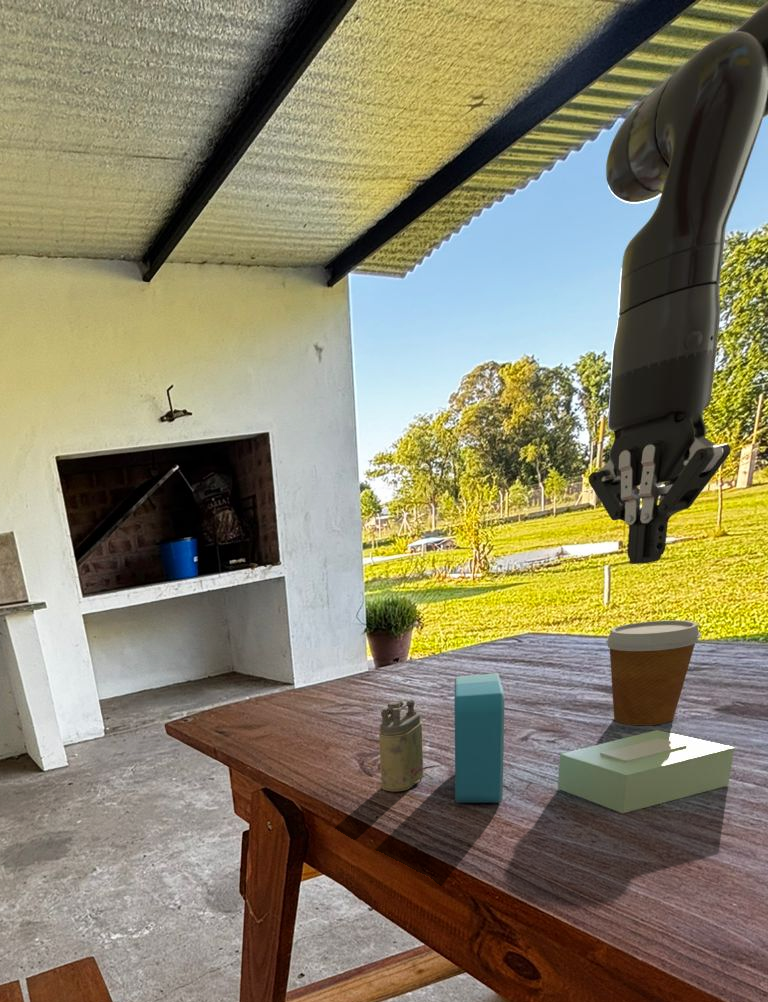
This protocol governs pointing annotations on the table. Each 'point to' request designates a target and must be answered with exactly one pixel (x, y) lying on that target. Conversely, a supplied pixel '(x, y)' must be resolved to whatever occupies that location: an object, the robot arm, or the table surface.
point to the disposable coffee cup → (649, 669)
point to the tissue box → (644, 770)
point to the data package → (479, 739)
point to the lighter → (400, 747)
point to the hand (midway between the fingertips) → (644, 562)
